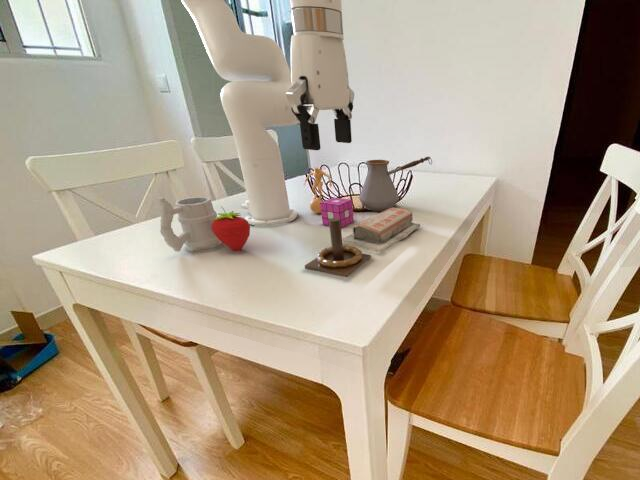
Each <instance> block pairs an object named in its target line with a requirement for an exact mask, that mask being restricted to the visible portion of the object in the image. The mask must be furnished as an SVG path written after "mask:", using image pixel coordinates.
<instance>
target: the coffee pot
mask: <svg viewBox="0 0 640 480" xmlns="http://www.w3.org/2000/svg"><path fill="white" fill-rule="evenodd" d="M427 161H428V164H429V165H432V164H433V160H432V157H431V156H425V157H421V158H420V159H417V160H413V161H410V162H408V163H406V164H404V165H402V166H400V167H397V168H394V169H391V170H389V171H388V165H389V164H390V161H389V160H388V159H387V160H386V159H369V160H366V161H365V164H367V168H368V171H367V173H366V176H365V180H364V182H363V185H362V188H361V191H360V194H359V197H358V199H359V201H360V203H361V204H362V206H363V207H365V208H366V209H367V210H368V211H374V212H383V211H385V210H387V209H390V208H394V206H396V205H397V203H398V202H399V200H400V199H399V198H400V197H399V194H398V191H397V189H396V187H395V185H394V182H393V179H392V177H391V175H393V174H395V173H398V172H400V171H403V170H407V169H410V168H413V167H416V166H418V165H419V164H423V163H424V162H427ZM430 161H431V162H430Z"/></svg>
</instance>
